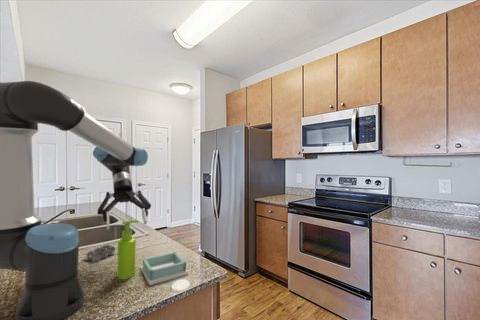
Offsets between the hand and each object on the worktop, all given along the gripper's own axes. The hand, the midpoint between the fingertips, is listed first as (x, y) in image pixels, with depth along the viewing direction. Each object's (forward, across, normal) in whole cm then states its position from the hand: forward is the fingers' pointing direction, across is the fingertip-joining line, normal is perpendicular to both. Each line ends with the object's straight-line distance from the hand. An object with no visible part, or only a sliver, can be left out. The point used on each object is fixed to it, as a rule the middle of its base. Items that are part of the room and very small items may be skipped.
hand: (127, 225), depth 92 cm
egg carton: (0, +8, -24) cm, 25 cm away
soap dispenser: (+17, +1, -7) cm, 18 cm away
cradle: (+20, -11, -3) cm, 23 cm away
